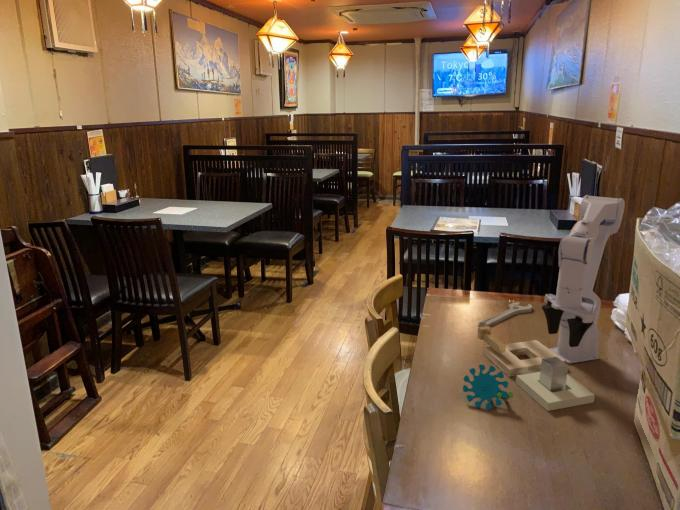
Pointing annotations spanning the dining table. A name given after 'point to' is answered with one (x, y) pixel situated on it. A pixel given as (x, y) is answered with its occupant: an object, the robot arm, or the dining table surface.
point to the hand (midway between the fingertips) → (562, 339)
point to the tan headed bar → (491, 339)
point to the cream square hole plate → (555, 400)
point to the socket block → (515, 365)
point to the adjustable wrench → (506, 314)
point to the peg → (553, 374)
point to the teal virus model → (486, 387)
